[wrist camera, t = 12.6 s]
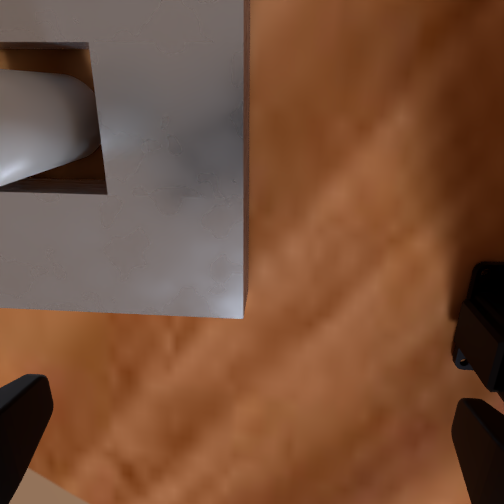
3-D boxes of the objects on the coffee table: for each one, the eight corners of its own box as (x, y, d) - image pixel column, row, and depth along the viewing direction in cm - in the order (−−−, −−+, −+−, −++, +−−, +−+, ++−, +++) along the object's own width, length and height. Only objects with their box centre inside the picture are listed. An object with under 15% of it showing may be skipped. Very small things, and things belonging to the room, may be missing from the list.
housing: (250, -123, 16) (243, -168, 13) (248, 290, 22) (243, 318, 20) (-180, -113, 17) (-271, -152, 14) (-59, 277, 24) (-105, 302, 21)
